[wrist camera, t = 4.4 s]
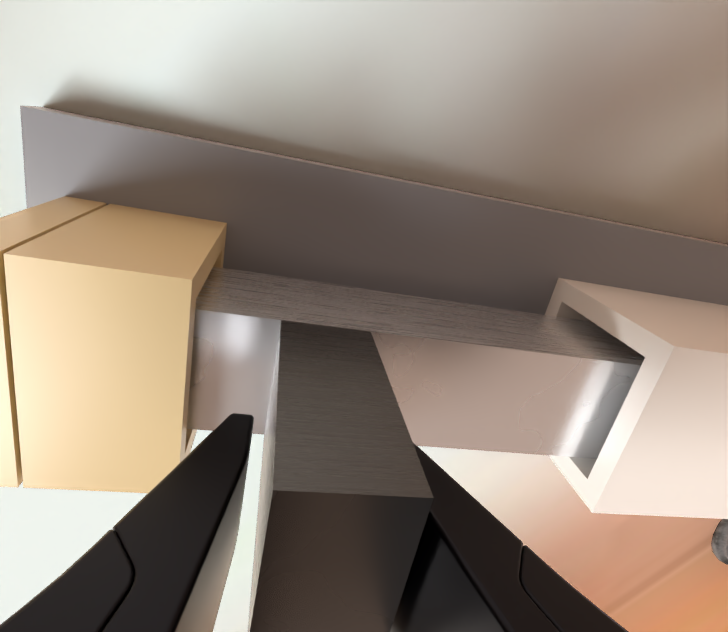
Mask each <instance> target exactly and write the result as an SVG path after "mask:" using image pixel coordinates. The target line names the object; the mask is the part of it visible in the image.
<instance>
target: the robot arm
mask: <svg viewBox="0 0 728 632" xmlns="http://www.w3.org/2000/svg"><path fill="white" fill-rule="evenodd" d="M253 422H254V417H253V416H252V415H249V414H238V413H232V414H230V415H229V416H228V417H227V418H226V419H225V420H224V421H223V422H222V423H221V424H220V425H219V426H218V427H217V428H216V429H215V430H214V431H213V432H212V433H210V434H209V435H208V436H207V437H206V438H205V439H204V440H203V441H202V442H201V443H200V444H199V445H198V446H197V447H196V448H195V449H194V450H193V451H192V452H191V453H190V454H189V455H188V456H187V457H185V458H184V459H183V460H182V461H181V462H180V463H179V464H178V465H177V466H176V467H175V468H174V469H173V470H172V471H171V472H170V473H169V474H168V475H167V476H166V477H165V478H164V479H163V480H162V481H161V482H159V483H158V484H157V485H156V486H155V487H154V488H153V489H152V490H151V491H150V492H149V493H148V494H147V495H146V496H145V497H144V498H143V499H142V500H141V501H140V502H139V503H138V504H137V505H136V506H134V507H133V508H132V509H131V510H130V511H129V512H128V513H127V514H126V515H125V516H124V517H123V518H122V519H121V520H120V521H119V522H118V523H117V524H116V525H115V526H114V527H113V530H109V531H108V532H107V533H106V534H105V535H104V536H103V537H102V538H101V539H100V540H99V541H98V542H97V543H96V544H95V545H94V546H93V547H91V548H90V549H89V550H88V551H87V552H86V553H85V554H84V555H83V556H82V557H80V558H79V559H78V560H77V561H76V562H75V563H74V564H73V565H72V566H71V567H70V568H68V569H67V570H66V571H65V572H64V573H63V574H62V575H61V576H60V577H58V578H57V579H56V580H55V581H53V582H52V583H51V584H50V585H49V586H47V587H46V588H45V589H44V590H43V591H41V592H40V593H39V594H38V595H37V596H35V597H34V598H33V599H32V600H30V601H29V602H28V603H27V604H26V605H24V606H23V607H22V608H21V609H20V610H18V611H17V612H16V613H15V614H13V615H12V616H11V617H9V618H8V619H7V620H6V621H4V622H3V623H2V624H1V625H0V632H213V628H214V625H215V621H216V617H217V613H218V610H219V606H220V602H221V598H222V595H223V591H224V587H225V584H226V580H227V576H228V572H229V569H230V565H231V561H232V557H233V554H234V549H235V545H236V541H237V536H238V530H239V523H240V516H241V509H242V502H243V494H244V487H245V480H246V473H247V466H248V458H249V451H250V444H251V437H252V430H253ZM413 445H414V447H415V450H416V452H417V455H418V458H419V460H420V463H421V466H422V468H423V471H424V474H425V476H426V479H427V482H428V484H429V487H430V489H431V492H432V495H433V497H434V499H433V502H432V505H431V508H430V511H429V514H428V517H427V520H426V523H425V526H424V529H423V532H422V535H421V538H420V541H419V544H418V548H417V551H416V554H415V557H414V560H413V563H412V566H411V569H410V572H409V575H408V578H407V581H406V584H405V587H404V590H403V593H402V596H401V599H400V603H399V606H398V609H397V612H396V615H395V618H394V621H393V624H392V627H391V630H390V632H628V631H627V630H626V629H624V628H623V627H622V626H620V625H619V624H618V623H617V622H615V621H614V620H613V619H612V618H610V617H609V616H608V615H607V614H605V613H604V612H603V611H602V610H600V609H599V608H598V607H597V606H596V605H594V604H593V603H592V602H591V601H589V600H588V599H587V598H586V597H585V596H583V595H582V594H581V593H580V592H579V591H577V590H576V589H575V588H574V587H572V586H571V585H570V584H569V583H568V582H567V581H565V580H564V579H563V578H562V577H561V576H560V575H559V574H558V573H556V572H555V571H554V570H553V569H552V568H551V567H550V566H548V565H547V564H546V563H545V562H544V561H543V560H542V559H541V558H539V557H538V556H537V555H536V554H535V553H534V552H533V551H532V550H531V549H530V548H528V547H527V546H523V543H522V541H521V540H520V539H518V538H517V537H516V536H515V535H514V534H513V533H512V532H511V531H510V530H509V529H507V528H506V527H505V526H504V525H503V524H502V523H501V522H500V521H499V520H498V519H496V518H495V517H494V516H493V515H492V514H491V513H490V512H489V511H488V510H487V509H486V508H484V507H483V506H482V505H481V504H480V503H479V502H478V501H477V500H476V499H475V498H473V497H472V496H471V495H470V494H469V493H468V492H467V491H466V490H465V489H464V488H463V487H461V486H460V485H459V484H458V483H457V482H456V481H455V480H454V479H453V478H452V477H450V476H449V475H448V474H447V473H446V472H445V471H444V470H443V469H442V468H441V467H439V466H438V465H437V464H436V463H435V462H434V461H433V460H432V459H431V458H430V457H429V456H427V455H426V454H425V453H424V452H423V451H422V450H421V449H420V448H419V447H418V446H416V445H415V444H414V443H413Z"/></svg>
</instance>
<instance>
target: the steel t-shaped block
mask: <svg viewBox="0 0 728 632" xmlns="http://www.w3.org/2000/svg"><path fill="white" fill-rule="evenodd" d="M644 359H645V357H644V356H643V355H641V354H640V353H638V352H637V351H635V350H634V349H632V348H631V347H629V346H628V345H626V344H625V343H623V342H622V341H620V340H619V339H617V338H616V337H614V336H613V335H611V334H610V333H608V332H607V331H605V330H604V329H602V328H601V327H599V326H598V325H596V324H595V323H593V322H591V321H584V320H577V319H570V318H563V317H556V316H549V315H542V314H536V313H529V312H522V311H515V310H508V309H501V308H494V307H487V306H480V305H474V304H467V303H460V302H453V301H446V300H439V299H432V298H425V297H418V296H412V295H405V294H398V293H391V292H384V291H377V290H370V289H363V288H357V287H350V286H343V285H336V284H329V283H322V282H315V281H308V280H301V279H295V278H288V277H281V276H274V275H267V274H260V273H253V272H246V271H239V270H233V269H226V268H219V267H213V268H212V270H211V271H210V273H209V275H208V277H207V279H206V281H205V283H204V285H203V287H202V289H201V290H200V292H199V294H198V296H197V298H196V307H195V321H194V335H193V348H192V362H191V376H190V389H189V403H188V417H187V429H198V430H212V431H214V430H215V429H216V428H217V427H218V426H219V425H220V424H221V423H222V422H223V421H224V420H225V419H226V418H227V417H228V416H229V415H230V414H232V413H238V414H249V415H252V416H253V417H254V422H253V430H252V433H253V434H264V443H263V455H262V467H261V479H260V491H259V503H258V515H257V527H256V539H255V551H254V563H253V575H252V587H251V599H250V611H249V623H248V632H390V630H391V627H392V624H393V621H394V618H395V615H396V612H397V609H398V606H399V603H400V599H401V596H402V593H403V590H404V587H405V584H406V581H407V578H408V575H409V572H410V569H411V566H412V563H413V560H414V557H415V554H416V551H417V548H418V544H419V541H420V538H421V535H422V532H423V529H424V526H425V523H426V520H427V517H428V514H429V511H430V508H431V505H432V502H433V499H434V497H433V495H432V492H431V489H430V487H429V484H428V482H427V479H426V476H425V474H424V471H423V468H422V466H421V463H420V460H419V458H418V455H417V452H416V450H415V447H414V445H413V443H414V444H415V445H416V446H430V447H444V448H457V449H471V450H484V451H498V452H512V453H525V454H539V455H553V456H566V457H580V458H594V459H597V458H598V456H599V454H600V452H601V449H602V447H603V445H604V443H605V441H606V439H607V437H608V435H609V433H610V430H611V428H612V426H613V424H614V422H615V420H616V418H617V416H618V414H619V411H620V409H621V407H622V405H623V403H624V401H625V399H626V397H627V395H628V392H629V390H630V388H631V386H632V384H633V382H634V380H635V378H636V376H637V373H638V371H639V369H640V367H641V365H642V363H643V361H644Z"/></svg>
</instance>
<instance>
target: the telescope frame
mask: <svg viewBox="0 0 728 632" xmlns="http://www.w3.org/2000/svg"><path fill="white" fill-rule="evenodd" d="M20 108H21V124H22V139H23V155H24V170H25V186H26V202H27V209H25V210H22V211H19V212H16V213H13V214H10V215H7V216H4V217H1V218H0V487H19V485H20V484H21V483H22V481H23V488H45V489H67V490H90V491H112V492H135V493H149V492H150V491H151V490H152V489H153V488H154V487H155V486H156V485H157V484H158V483H159V482H161V481H162V480H163V479H164V478H165V477H166V476H167V475H168V474H169V473H170V472H171V471H172V470H173V469H174V468H175V467H176V466H177V465H178V464H179V463H180V462H181V461H182V460H183V459H184V458H185V457H187V456H188V455H189V454H190V451H191V448H192V444H193V441H194V438H195V435H196V431H197V429H187V417H188V403H189V389H190V376H191V362H192V348H193V335H194V321H195V307H196V298H197V296H198V294H199V292H200V290H201V289H202V287H203V285H204V283H205V281H206V279H207V277H208V275H209V273H210V271H211V270H212V268H213V267H219V268H226V269H233V270H239V271H246V272H253V273H260V274H267V275H274V276H281V277H288V278H295V279H301V280H308V281H315V282H322V283H329V284H336V285H343V286H350V287H357V288H363V289H370V290H377V291H384V292H391V293H398V294H405V295H412V296H418V297H425V298H432V299H439V300H446V301H453V302H460V303H467V304H474V305H480V306H487V307H494V308H501V309H508V310H515V311H522V312H529V313H536V314H542V315H549V316H556V317H563V318H570V319H577V320H584V321H591V322H593V323H595V324H596V325H598V326H599V327H601V328H602V329H604V330H605V331H607V332H608V333H610V334H611V335H613V336H614V337H616V338H617V339H619V340H620V341H622V342H623V343H625V344H626V345H628V346H629V347H631V348H632V349H634V350H635V351H637V352H638V353H640V354H641V355H643V356H644V357H645V359H644V361H643V363H642V365H641V367H640V369H639V371H638V373H637V376H636V378H635V380H634V382H633V384H632V386H631V388H630V390H629V392H628V395H627V397H626V399H625V401H624V403H623V405H622V407H621V409H620V411H619V414H618V416H617V418H616V420H615V422H614V424H613V426H612V428H611V430H610V433H609V435H608V437H607V439H606V441H605V443H604V445H603V447H602V449H601V452H600V454H599V456H598V458H597V459H594V458H580V457H566V456H553V455H548V456H549V457H550V459H551V460H552V461H553V462H554V464H555V465H556V466H557V468H558V469H559V470H560V472H561V473H562V474H563V475H564V477H565V478H566V479H567V481H568V482H569V483H570V485H571V486H572V487H573V489H574V490H575V491H576V492H577V494H578V495H579V496H580V498H581V499H582V500H583V502H584V503H585V504H586V505H587V507H588V508H589V509H590V511H591V512H592V513H605V514H627V515H650V516H672V517H694V518H717V519H728V244H724V243H719V242H714V241H709V240H704V239H699V238H694V237H689V236H684V235H679V234H674V233H669V232H664V231H659V230H654V229H649V228H644V227H639V226H634V225H629V224H624V223H619V222H614V221H609V220H604V219H599V218H594V217H589V216H584V215H579V214H574V213H569V212H564V211H559V210H554V209H549V208H544V207H539V206H534V205H529V204H524V203H519V202H514V201H509V200H504V199H499V198H494V197H489V196H484V195H479V194H474V193H469V192H464V191H459V190H454V189H449V188H444V187H439V186H434V185H429V184H424V183H419V182H414V181H409V180H404V179H399V178H394V177H389V176H384V175H379V174H374V173H369V172H364V171H359V170H354V169H349V168H344V167H339V166H334V165H329V164H324V163H319V162H314V161H309V160H304V159H299V158H294V157H289V156H284V155H279V154H274V153H269V152H264V151H259V150H254V149H249V148H244V147H239V146H234V145H229V144H224V143H219V142H214V141H209V140H204V139H199V138H194V137H189V136H184V135H179V134H174V133H169V132H164V131H159V130H154V129H149V128H144V127H139V126H134V125H129V124H124V123H119V122H114V121H109V120H104V119H100V118H95V117H90V116H85V115H80V114H75V113H70V112H65V111H60V110H55V109H50V108H45V107H36V106H20Z"/></svg>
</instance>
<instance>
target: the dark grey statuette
mask: <svg viewBox="0 0 728 632" xmlns="http://www.w3.org/2000/svg"><path fill="white" fill-rule="evenodd" d="M711 544H712V550H713V553H714V554H715V556H716V557H717V558H718V559H719V560H720V561H722V562H723V563H725V564H728V519H722V520H721V522H720V523H719V524H718V526H717V528H716V530H715V532H714V534H713V538H712V543H711Z"/></svg>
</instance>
